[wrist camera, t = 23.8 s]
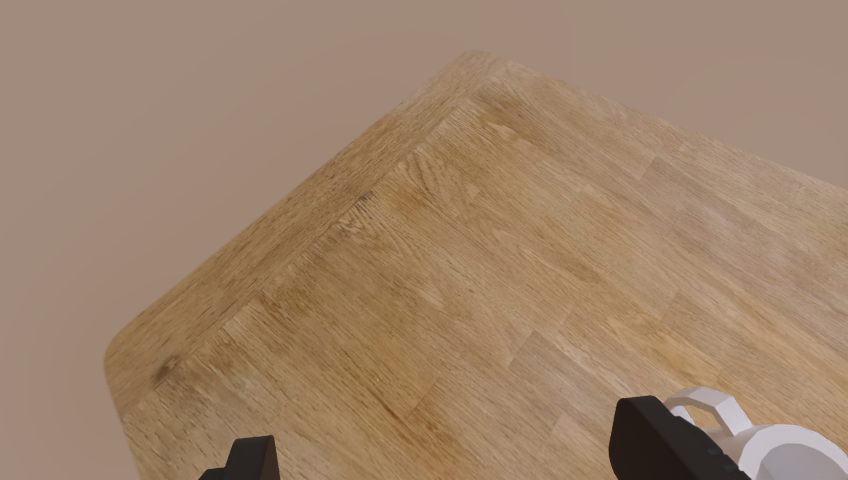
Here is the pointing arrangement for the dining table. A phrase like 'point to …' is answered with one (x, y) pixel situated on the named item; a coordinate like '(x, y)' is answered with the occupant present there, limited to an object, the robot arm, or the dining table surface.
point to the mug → (763, 441)
